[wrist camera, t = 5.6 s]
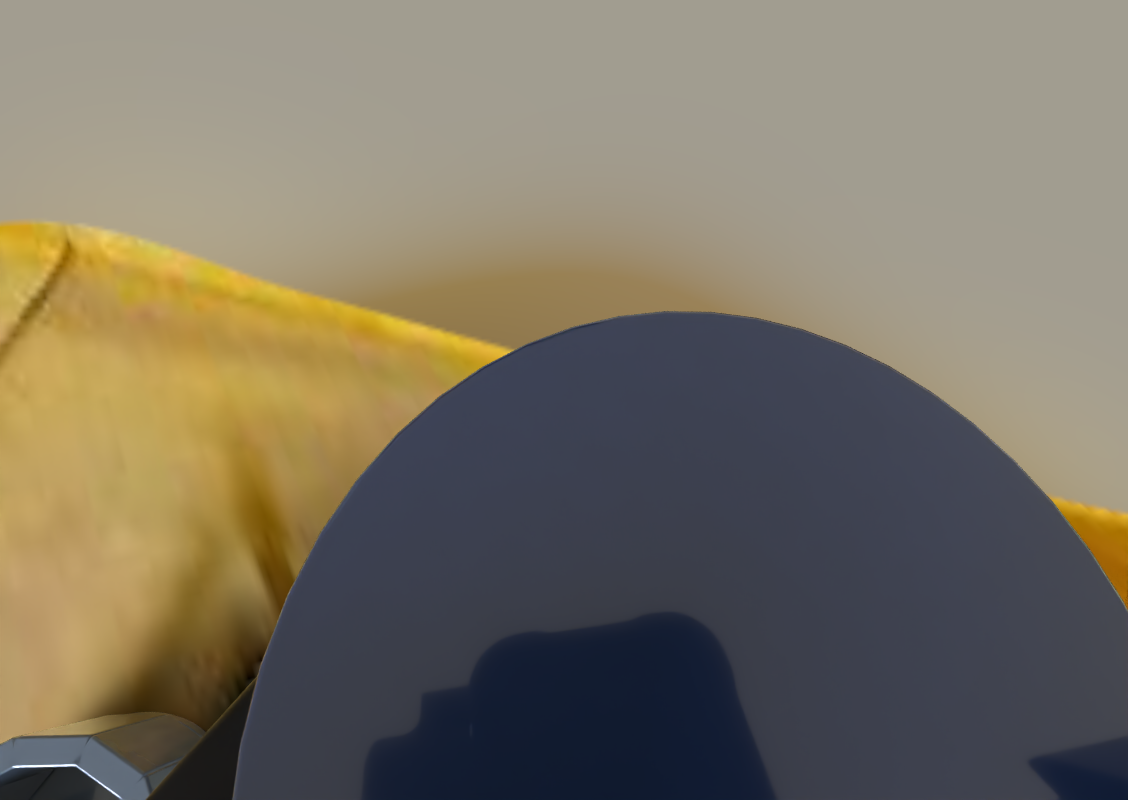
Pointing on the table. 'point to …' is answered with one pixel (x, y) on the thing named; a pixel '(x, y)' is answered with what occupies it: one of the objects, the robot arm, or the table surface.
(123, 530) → the table surface
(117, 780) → the grey pot
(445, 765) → the blue grey cylinder
